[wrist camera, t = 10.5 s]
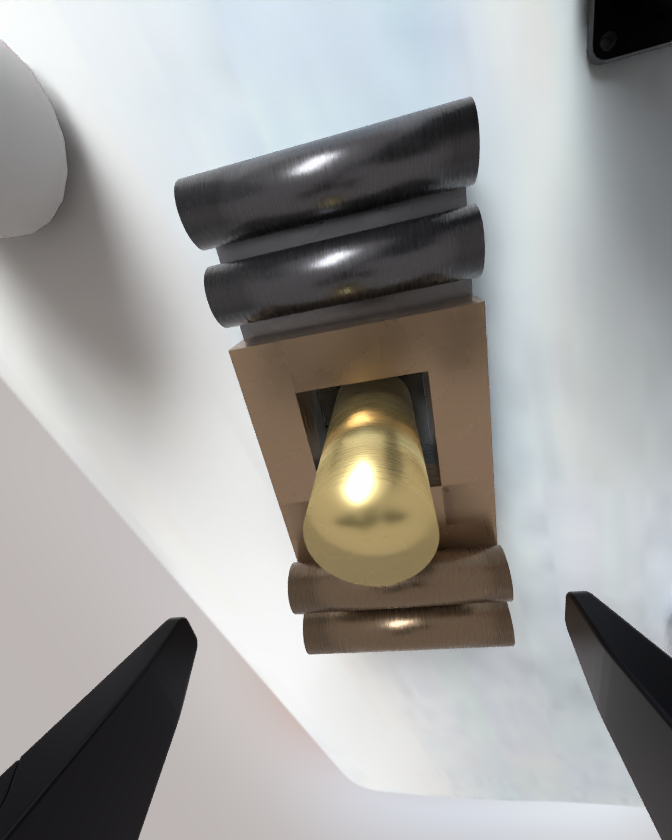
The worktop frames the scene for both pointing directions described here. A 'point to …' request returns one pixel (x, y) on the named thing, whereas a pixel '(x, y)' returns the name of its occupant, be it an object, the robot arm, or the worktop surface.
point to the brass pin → (372, 489)
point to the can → (27, 150)
